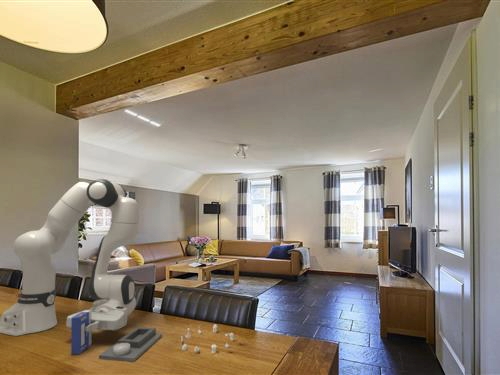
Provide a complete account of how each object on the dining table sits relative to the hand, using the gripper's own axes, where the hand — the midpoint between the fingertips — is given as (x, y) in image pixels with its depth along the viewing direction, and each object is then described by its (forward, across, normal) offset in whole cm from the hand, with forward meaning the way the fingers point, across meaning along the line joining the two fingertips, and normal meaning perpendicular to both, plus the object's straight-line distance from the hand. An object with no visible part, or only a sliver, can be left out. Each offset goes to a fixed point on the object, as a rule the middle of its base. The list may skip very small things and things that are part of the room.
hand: (80, 328), depth 103 cm
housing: (-6, +16, +7) cm, 18 cm away
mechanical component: (-40, -20, +8) cm, 45 cm away
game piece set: (-14, +40, +8) cm, 43 cm away
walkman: (-1, 0, +7) cm, 7 cm away
